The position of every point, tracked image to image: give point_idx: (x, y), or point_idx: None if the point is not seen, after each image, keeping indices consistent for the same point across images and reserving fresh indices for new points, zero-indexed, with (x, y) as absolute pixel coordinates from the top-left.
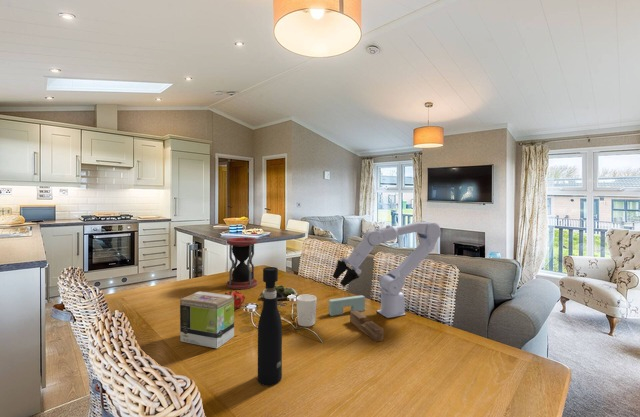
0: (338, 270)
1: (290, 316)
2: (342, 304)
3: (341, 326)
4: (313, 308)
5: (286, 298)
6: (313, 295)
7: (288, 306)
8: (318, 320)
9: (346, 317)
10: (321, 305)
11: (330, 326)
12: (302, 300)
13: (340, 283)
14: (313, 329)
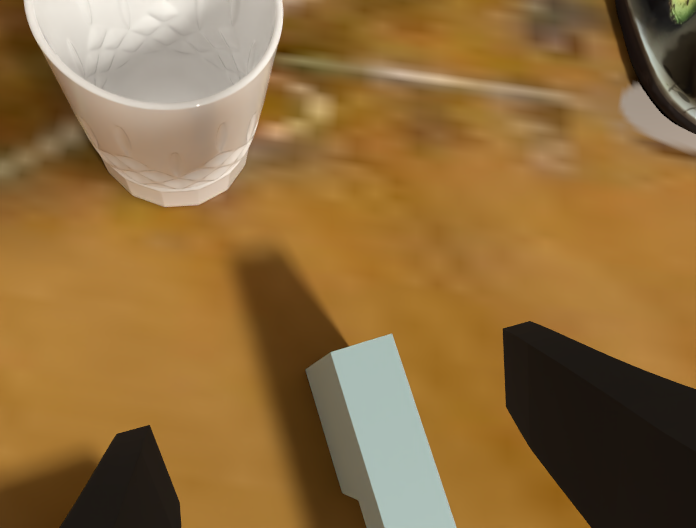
0: (617, 450)
1: (318, 49)
2: (362, 493)
3: (49, 429)
4: (75, 108)
5: (639, 53)
6: (234, 85)
7: (513, 61)
8: (216, 243)
9: (256, 515)
10: (543, 317)
11: (69, 326)
12: (257, 18)
13: (133, 430)
14: (35, 176)
